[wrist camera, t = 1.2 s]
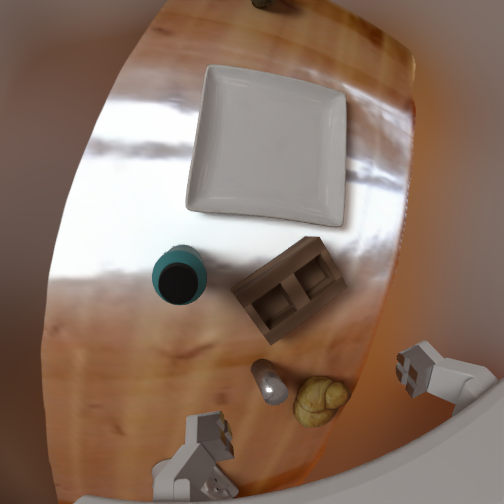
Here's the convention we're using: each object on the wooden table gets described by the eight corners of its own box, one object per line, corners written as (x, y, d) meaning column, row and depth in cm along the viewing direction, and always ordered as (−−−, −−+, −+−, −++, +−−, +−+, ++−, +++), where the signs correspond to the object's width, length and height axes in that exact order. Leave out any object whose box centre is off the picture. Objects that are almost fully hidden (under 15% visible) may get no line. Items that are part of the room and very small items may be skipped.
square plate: (338, 99, 50) (347, 91, 46) (334, 228, 51) (344, 228, 47) (206, 71, 44) (207, 61, 41) (184, 212, 46) (183, 210, 42)
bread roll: (317, 421, 53) (331, 441, 46) (278, 418, 51) (290, 441, 44) (340, 373, 54) (359, 390, 46) (301, 368, 51) (317, 387, 44)
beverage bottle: (174, 236, 45) (160, 238, 26) (210, 255, 46) (222, 270, 27) (157, 271, 45) (132, 298, 25) (192, 290, 46) (192, 329, 27)
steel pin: (275, 369, 50) (292, 395, 40) (258, 380, 50) (272, 409, 40) (264, 354, 50) (280, 380, 40) (246, 367, 49) (259, 394, 39)
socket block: (331, 281, 51) (347, 286, 45) (261, 333, 49) (270, 345, 43) (305, 236, 50) (319, 236, 44) (230, 289, 48) (235, 296, 42)
